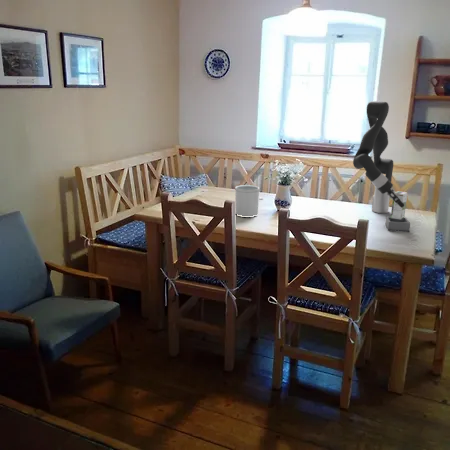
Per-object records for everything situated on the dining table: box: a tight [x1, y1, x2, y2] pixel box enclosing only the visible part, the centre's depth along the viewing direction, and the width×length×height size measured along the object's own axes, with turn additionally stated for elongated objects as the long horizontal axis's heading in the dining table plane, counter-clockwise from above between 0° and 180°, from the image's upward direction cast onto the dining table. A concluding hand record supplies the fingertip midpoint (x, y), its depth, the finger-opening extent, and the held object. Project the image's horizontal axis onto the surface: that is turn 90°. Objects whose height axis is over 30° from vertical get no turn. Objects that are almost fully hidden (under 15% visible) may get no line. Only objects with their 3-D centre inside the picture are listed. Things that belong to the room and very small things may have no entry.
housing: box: [384, 216, 411, 233], centre depth 261 cm, size 11×11×5 cm
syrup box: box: [390, 190, 408, 220], centre depth 258 cm, size 6×6×14 cm
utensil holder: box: [234, 184, 260, 216], centre depth 288 cm, size 15×15×18 cm
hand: (401, 204), depth 258 cm, fingers closed on syrup box, 7 cm apart
